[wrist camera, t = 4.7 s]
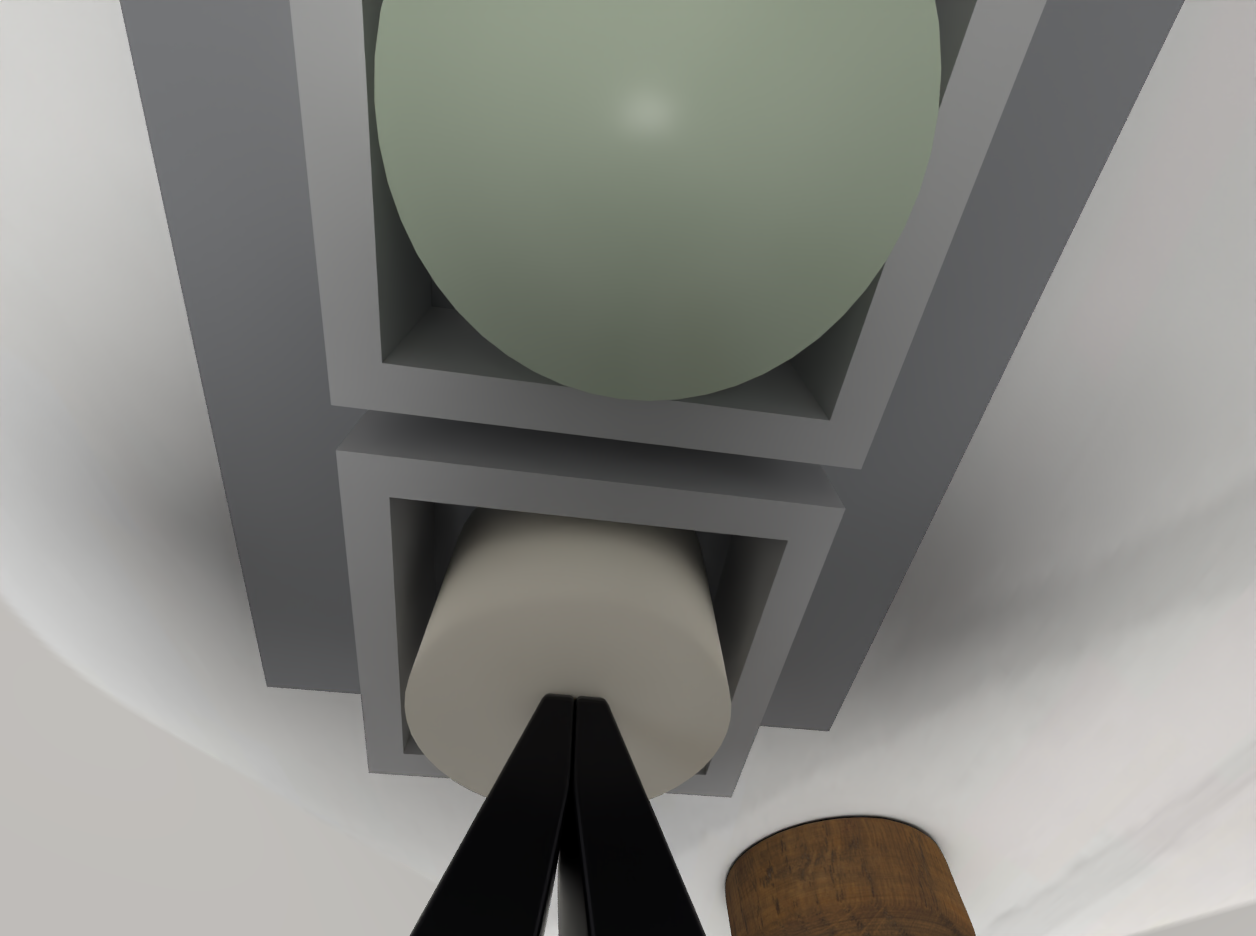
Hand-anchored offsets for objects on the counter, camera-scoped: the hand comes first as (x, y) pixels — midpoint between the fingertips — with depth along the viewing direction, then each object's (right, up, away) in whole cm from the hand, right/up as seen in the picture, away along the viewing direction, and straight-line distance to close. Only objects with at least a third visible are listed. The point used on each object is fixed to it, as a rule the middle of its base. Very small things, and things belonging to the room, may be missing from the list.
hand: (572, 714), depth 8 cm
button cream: (0, +1, +3) cm, 3 cm away
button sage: (+1, +7, -1) cm, 8 cm away
